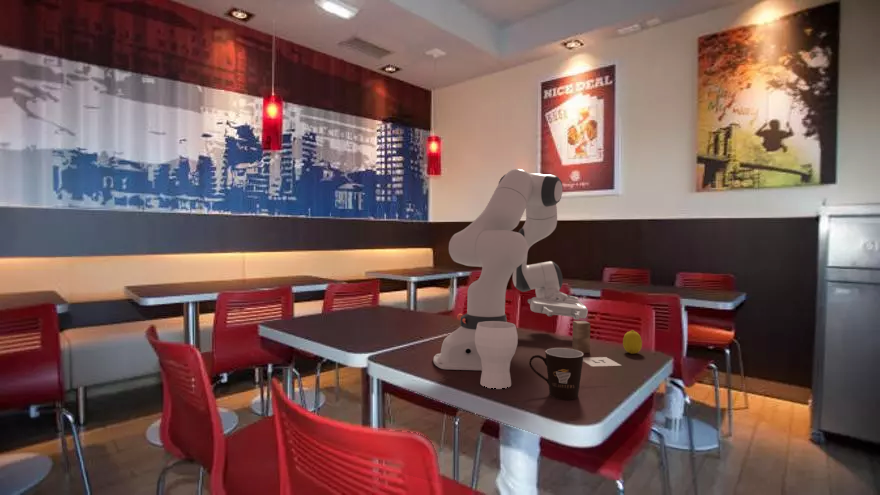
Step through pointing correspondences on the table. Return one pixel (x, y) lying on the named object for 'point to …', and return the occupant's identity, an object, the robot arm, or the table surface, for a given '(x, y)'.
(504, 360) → the cup
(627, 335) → the lemon
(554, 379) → the coffee mug
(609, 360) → the tile
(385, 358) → the table surface
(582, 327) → the tall wooden block
